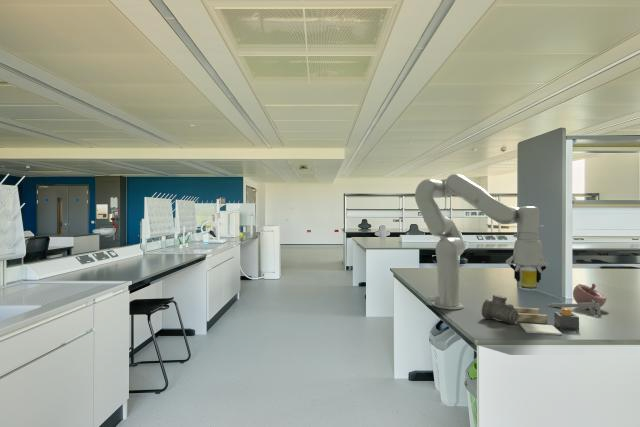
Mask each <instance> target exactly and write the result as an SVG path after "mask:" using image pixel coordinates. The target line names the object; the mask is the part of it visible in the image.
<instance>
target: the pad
mask: <svg viewBox="0 0 640 427" xmlns="http://www.w3.org/2000/svg"><path fill="white" fill-rule="evenodd" d="M519 325H520V327H521V328H522V329H523V330H524V332H526V333H527V334H543V335H553V336H563V333H562V332H561V330H560V329H558V328H557V327H556V326H555V325H551V324H542V323H528V322H520V323H519Z"/></svg>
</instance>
